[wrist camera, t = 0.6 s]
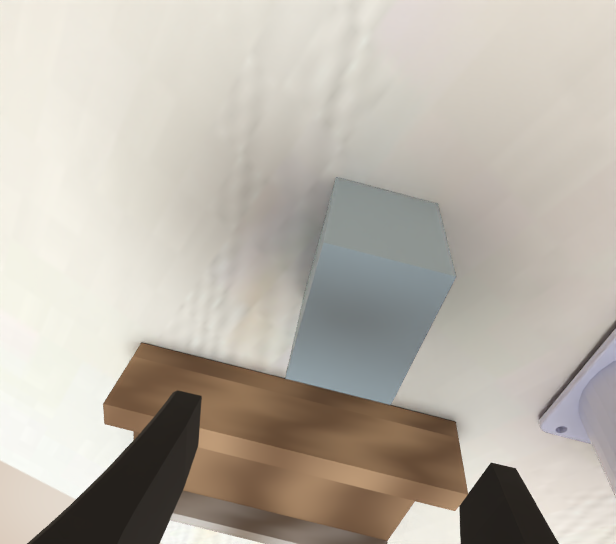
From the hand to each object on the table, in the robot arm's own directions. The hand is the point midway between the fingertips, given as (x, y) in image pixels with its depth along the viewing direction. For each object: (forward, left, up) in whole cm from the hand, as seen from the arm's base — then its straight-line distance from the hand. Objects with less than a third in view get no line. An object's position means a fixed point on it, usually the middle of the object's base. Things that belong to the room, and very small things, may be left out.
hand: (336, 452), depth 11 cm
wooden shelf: (+1, +15, -9) cm, 18 cm away
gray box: (0, 0, -10) cm, 10 cm away
